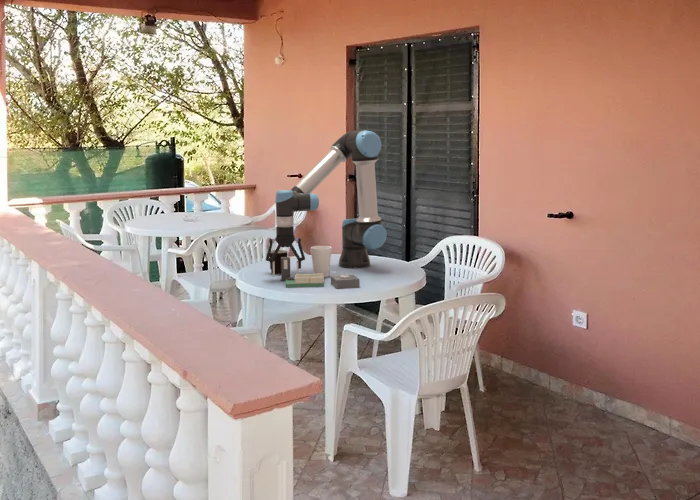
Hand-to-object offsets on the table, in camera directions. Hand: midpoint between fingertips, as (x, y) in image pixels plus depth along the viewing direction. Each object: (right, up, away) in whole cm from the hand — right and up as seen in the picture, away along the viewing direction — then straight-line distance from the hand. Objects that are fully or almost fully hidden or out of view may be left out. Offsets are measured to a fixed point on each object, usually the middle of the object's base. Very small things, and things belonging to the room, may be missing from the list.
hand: (285, 276), depth 332 cm
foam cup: (+15, 0, +9) cm, 18 cm away
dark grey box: (+26, -4, -12) cm, 29 cm away
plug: (0, -2, 0) cm, 2 cm away
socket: (+11, -2, -10) cm, 15 cm away
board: (+9, -3, -9) cm, 13 cm away
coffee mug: (-4, +1, +18) cm, 18 cm away
